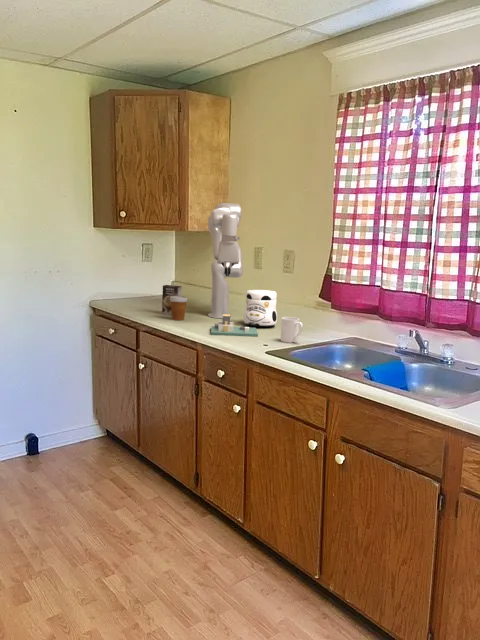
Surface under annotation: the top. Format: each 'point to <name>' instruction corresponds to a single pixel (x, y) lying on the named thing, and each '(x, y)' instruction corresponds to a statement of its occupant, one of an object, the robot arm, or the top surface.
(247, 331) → the board
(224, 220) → the robot arm
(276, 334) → the top surface
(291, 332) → the mug
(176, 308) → the disposable coffee cup
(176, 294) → the coffee box
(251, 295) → the milk container
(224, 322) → the plug
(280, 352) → the top surface
